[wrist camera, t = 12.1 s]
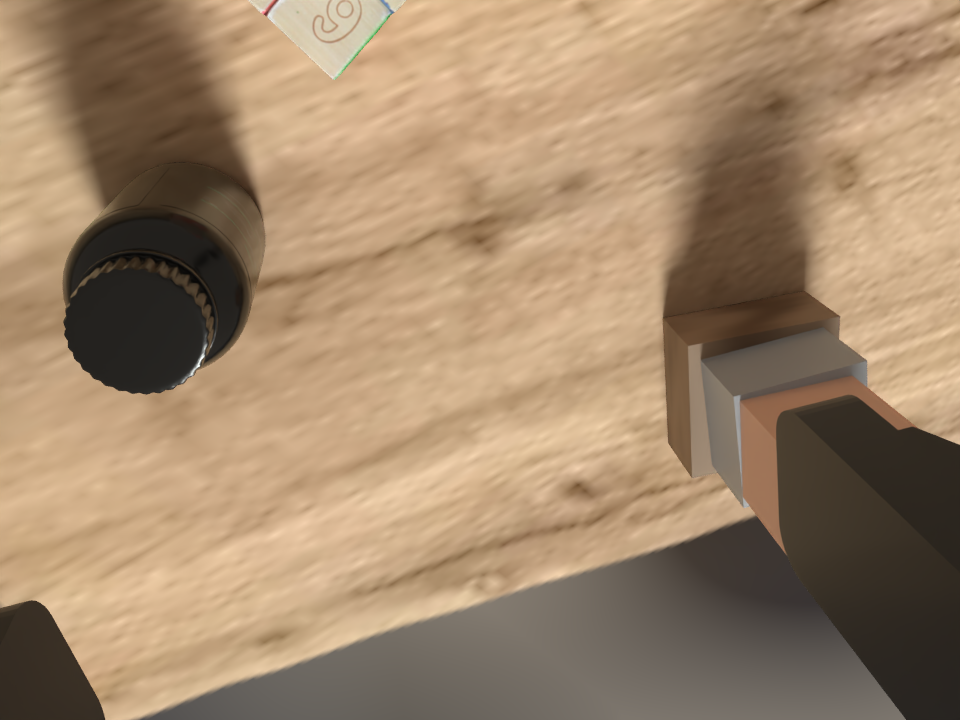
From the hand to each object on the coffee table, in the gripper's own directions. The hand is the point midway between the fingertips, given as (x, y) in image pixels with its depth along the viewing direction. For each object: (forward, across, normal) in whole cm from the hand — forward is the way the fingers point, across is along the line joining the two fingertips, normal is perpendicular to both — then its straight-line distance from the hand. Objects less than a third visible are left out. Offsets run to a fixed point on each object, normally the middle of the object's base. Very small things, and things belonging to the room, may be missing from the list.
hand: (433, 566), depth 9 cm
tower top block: (+29, -17, +18) cm, 38 cm away
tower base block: (+33, -17, +18) cm, 41 cm away
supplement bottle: (+33, +9, +4) cm, 34 cm away
